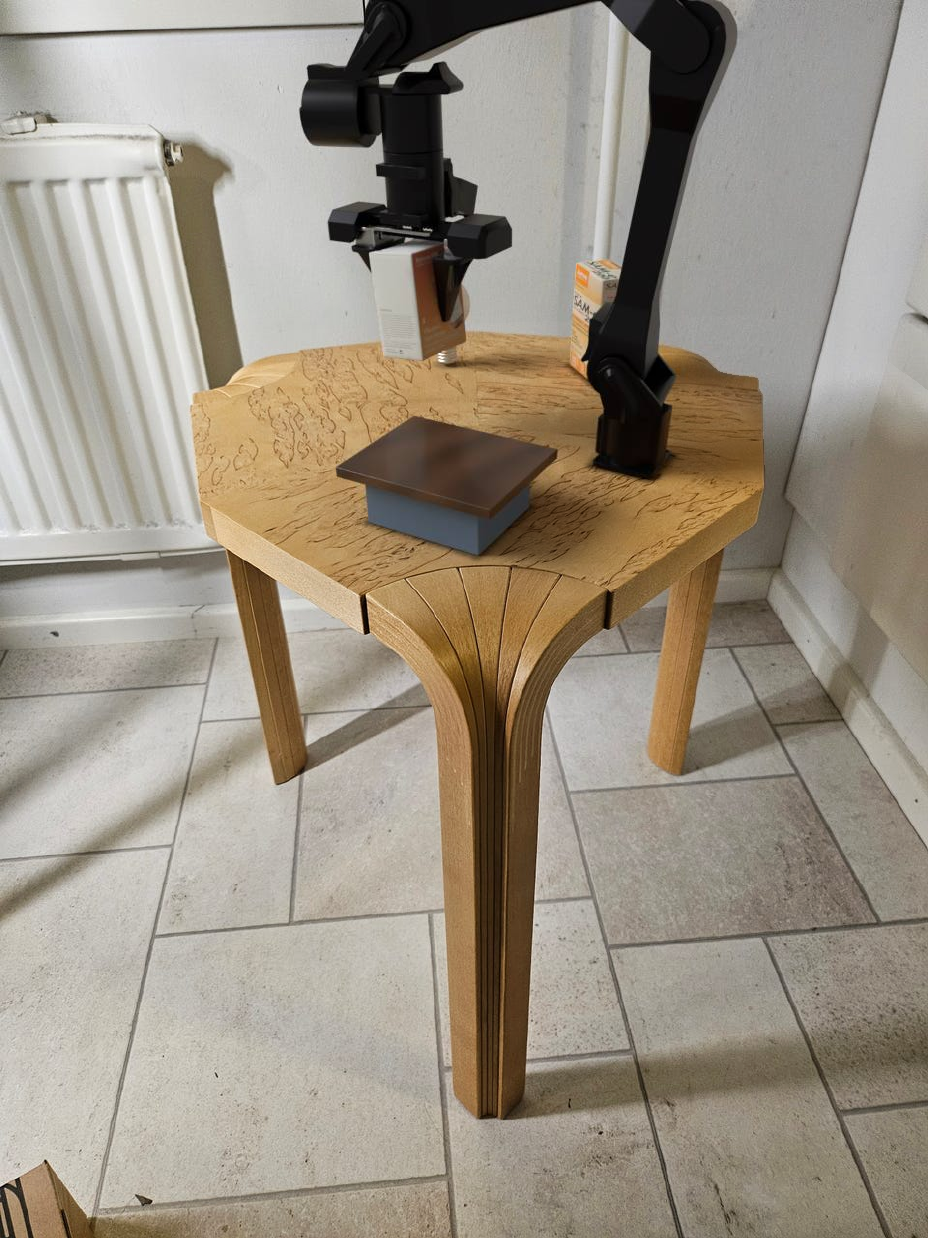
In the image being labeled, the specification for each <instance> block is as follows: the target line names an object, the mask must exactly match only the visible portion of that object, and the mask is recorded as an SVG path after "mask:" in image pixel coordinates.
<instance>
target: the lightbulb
mask: <svg viewBox="0 0 928 1238" xmlns="http://www.w3.org/2000/svg"><path fill="white" fill-rule="evenodd" d="M462 296H463V308H464V320H465V321H467V318H468V317H469V315H470V311H471V298H470V295H469V292H468V290H467V289H466V287H465V285H463V284H462ZM457 349H458V347H457V346H455V347H453V348H450V349H448V350H445V351H443V352H441V353H438V354H436V361H437V362H439V363H440V364H442V365H444V366H450V365H452V364H454V363H455V362H457V360H458V353H457V352H458V350H457Z"/></svg>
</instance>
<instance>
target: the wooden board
mask: <svg viewBox="0 0 928 1238" xmlns="http://www.w3.org/2000/svg"><path fill="white" fill-rule="evenodd" d="M558 451H559V450H558V449H557V448H555V447H550V446H546V445H541V444H536V443H533V442H528V441H524V440H520V439H515V438H512V437H507V436H502V435H499V434H495V433H490V432H486V431H482V430H478V429H473V428H470V427H469V428H468V427H464V426H462V425H461V426H460V425H456V424H452V423H447V422H444V421H438V420H434V419H431V418H426V417H421V416H418V415H412V416H411V417H410V418H408V419H406V420H405V421H403V422H402V423H400V424H399V425H397V426H396V427H394V428H393V429H391V430H389V431H387V433H385V434H383V435H382V436H381V437H379V438H378V439H376V440H374V441H373V442H371V443H370V444H369V445H367V446H365V447H364V448H362V449H360V450H359V451H358V452H355V454H353V455H352V456H350V457H349V458H347V459H346V460H344V461H343V462H341V463H340V464H338V465H337V466H335V472H336V473H335V474H336V477H337V478H340V479H344V480H347V481H350V482H354V483H358V484H362V485H364V486H365V485H368V486H372V487H375V488H379V489H382V490H386V491H389V492H393V493H397V494H400V495H404V496H407V497H411V498H414V499H418V500H421V501H425V502H428V503H432V504H436V505H439V506H443V507H446V508H450V509H453V510H457V511H460V512H464V513H468V514H471V515H475V516H478V517H482V518H485V519H489V520H490V519H491V518H493V517H494V516H495V515H496V514H497V513H498V512H499V511H500V510H501V509H502V508H503V507H505V506H506V505H507V504H508V503H509V502H510V501H511V500H512V499H513V498H514V497H515V496H517V495H518V494H519V493H520V492H521V491H522V490H523V489H524V488H525V487H526V486H527V485H529V484H530V485H531V483H532V482H533V481H534V480H535V479H537V478H538V477H539V476H540V475H541V474H542V473H543V472H544V471H545V470H546V469H547V468H548V467H550V466H551V465H552V464H553V463H554V462H555V461H556V460H557V459H558Z"/></svg>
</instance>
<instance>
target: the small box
mask: <svg viewBox="0 0 928 1238" xmlns="http://www.w3.org/2000/svg"><path fill="white" fill-rule="evenodd" d="M442 253H444V242H438V241H430V240H422V239H413V238H411V239H410V240H408V241H405V242H404V243H402V244H399V245H395V246H392V247H389V248H386V249H383V250H380V251H374V252H370V253H369V257H370V264H371V272H372V273H371V272H370V273H371V278H372V285H373V292H374V293H373V294H374V300H375V307H376V308H375V309H376V314H377V321H378V329H379V335H380V344H381V350H382V356H383V357H384V358H391V359H398V360H399V359H401V360H407V361H417V362H418V361H419V362H424V361H426V360H428V359H430V358H432V357H434V356H437V354H438V353H441V352H443V351H445V350H448V349H450V348H453V347H455V346H456V347H457V346H460V345H463V344H465V343H466V342H467V333H466V320H464V308H463V296H462V285H463V283H462V284H461V287H460V290H459V294H458V297H457V300H456V303H455V307H454V310H453V313H452V316H451V319H450V320H449V321H447V322H443V321H442V318H441V314H440V311H439V305H438V298H437V290H436V283H435V276H434V269H433V262H432V258H433V257H435V256H437V255H440V254H442Z"/></svg>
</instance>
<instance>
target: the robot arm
mask: <svg viewBox="0 0 928 1238" xmlns="http://www.w3.org/2000/svg"><path fill="white" fill-rule="evenodd" d="M596 3H602V4H603V5H604V6H605V7H606V8H607V9H608V10H609V11H610V12H611V13H612V14H613V15H614V16H615V17H616V19H618V21H619V22H620V23H621V24H622V26H623V27H624V28H625V29H626V30H627V31H628V32H629V33H630V35H632V37H634V38H635V39H636V41H638V42H639V43H640V44H642V45H643V47H645V48H646V49H647V50H649V51H650V53H649V54H650V57H649V70H648V71H649V73H648V91H647V92H648V111H649V112H648V113H649V135H648V140H647V144H646V149H645V155H644V159H643V164H642V169H641V174H640V178H639V181H638V182H639V183H638V188H637V192H636V197H635V202H634V205H633V206H634V207H633V211H632V216H631V220H630V226H629V230H628V236H627V239H626V244H625V248H624V254H623V259H622V263H621V273H620V277H619V282H618V287H617V292H616V296H615V299H614V301H613V304H609V303H607V302H605V303H604V304H603V305H602V306H601V308H600V309H599V310H598V311H597V312H596V313H595V315H594V316H593V317H592V318H591V319H590V322H589V330H588V346H587V349H586V352H585V354H584V355H583V357H582V358H581V361H582V362H585V361H588V363H587V367H586V375H587V379H586V380H587V382H588V383H589V384H590V386H591V388H593V390H594V391H595V392H596V393H598V394H599V397H600V401H601V404H602V408H603V409H602V413H601V414H599V416H598V417H597V425H596V437H595V450H594V451H595V453H596V454H597V455H596V456H595V457H594V458H593V459H592V465H593V466H594V467H597V468H602V469H606V470H609V471H614V472H617V473H618V472H619V473H623V474H627V475H631V476H636V477H640V478H643V479H651V478H653V476H655V474H656V473H657V472H658V471H659V470H660V469H661V467H663V465H664V464H665V463H666V462H667V461H668V459H669V458H670V457H671V455H672V450H670V449H668V440H669V434H670V427H671V418H672V412H673V404H669V403H665V401H666V399H667V397H668V396H669V393H670V391H671V389H672V388H673V385H674V383H675V382H676V380H677V377H678V376H677V374H676V372H675V371H674V370H673V369H672V367H671V366H670V365H669V364H668V363H667V362H666V360H665V359H664V358H663V356H662V355H661V354H660V353H659V348H660V347H659V346H660V345H659V344H660V330H661V315H660V313H661V312H660V294H661V290H662V285H663V282H664V277H665V273H666V269H667V265H668V262H669V256H670V254H671V253H670V252H671V248H672V244H673V241H674V235H675V232H676V228H677V224H678V220H679V215H680V210H681V208H682V205H683V204H682V203H683V199H684V196H685V191H686V187H687V183H688V178H689V175H690V171H691V166H692V162H693V158H694V154H695V149H696V146H697V142H698V138H699V134H700V132H701V129H702V127H703V125H704V123H705V121H706V119H707V116H708V114H709V112H710V110H711V108H712V106H713V103H714V101H715V99H716V97H717V95H718V92H719V91H720V88H721V86H722V83H723V80H724V78H725V75H726V74H727V71H728V69H729V65H730V64H731V61H732V59H733V56H734V53H735V51H736V47H737V45H738V44H737V43H738V34H739V33H738V25H737V22H736V19H735V17H734V15H733V13H732V12H731V9H730V8H728V6H726V5H725V4H724V3H723V2H722V1H720V0H368V1H367V4H366V6H365V8H364V9H365V10H364V15H363V29H362V31H361V33H360V36H359V37H358V39H357V42H356V44H355V46H354V48H353V50H352V52H351V55H350V57H349V59H348V61H347V63H346V65H334V64H333V63H332V64H331V63H326V62H321V63H320V62H318V63H312V64H308V65H307V66H306V73H307V74H306V75H307V81H306V82H305V84H304V86H303V90H302V92H301V100H300V107H299V110H298V112H299V119H300V125H301V128H302V132H303V134H304V137H305V138H306V140H307V141H308V142H309V144H311V145H312V146H314V147H328V148H329V147H333V148H362V149H363V148H365V149H369V148H371V147H372V146H373V145H374V144H375V142H376V140H377V138H378V137H379V136H380V135H381V143H382V145H381V146H382V158H383V162H379V163H376V164H375V175H376V177H379V178H384V185H385V198H386V204H385V203H379V202H378V203H377V202H367V201H359V200H358V201H355V202H352V203H349V204H346V205H343V206H339V207H335V208H333V209H332V210H331V212H330V214H329V216H328V219H327V221H326V222H327V231H328V239H329V241H331V242H339V243H347V244H351V243H354V242H355V244H353V245H351V248H350V249H351V251H352V252H353V253H357V254H358V255H359V257H360V258H361V260H362V261H363V263H364V265H365V267H367V269H368V270H369V272H370V274H372V272H371V264H370V257H369V253H370V252H374V251H380V250H383V249H386V248H389V247H392V246H395V245H399V244H402V243H405V242H406V239H422V240H430V241H438V242H444V253H442V254H440V255H437V256H435V257H433V258H432V262H433V269H434V276H435V283H436V290H437V298H438V305H439V311H440V314H441V318H442V321H443V322H447V321H449V320H450V319H451V316H452V313H453V310H454V307H455V303H456V300H457V297H458V294H459V290H460V287H461V284H462V285H463V281H464V278H465V276H466V274H467V271H468V269H469V266H471V264H472V263H473V261H474V260H486V259H489V258H492V257H493V256H496V255H497V254H499V253H502V252H504V251H506V250H508V249H511V248H512V247H513V228H512V226H511V223H510V222H509V220H508V218H507V217H506V216H505V215H496V214H495V215H494V214H486V213H477V212H476V213H475V210H476V202H477V195H478V188H479V187H478V186H479V185H478V184H475V183H473V182H471V181H469V180H467V179H464V178H461V177H458V176H455V175H454V165H453V162H452V158H451V157H444V134H443V133H444V129H443V107H442V105H443V104H442V96H445V95H447V96H448V95H451V94H455V93H458V92H461V91H463V90H464V88H465V87H464V86H465V84H464V82H463V81H462V80H461V79H460V78H459V77H458V76H457V75H455V73H453V71H452V70H451V69H450V67H449V65H448V64H447V61H445V60H443V61H438V62H437V61H436V62H434V63H433V64H432V65H431V68H430V69H429V70H428V71H405V70H406V68H408V67H409V66H410V65H411V64H414V63H420V62H424V61H428V60H431V59H433V58H435V57H437V56H439V55H442V54H443V53H446V52H448V51H450V50H452V49H453V48H455V47H457V46H459V45H462V44H463V43H465V42H466V41H467V40H470V39H471V38H472V37H475V36H477V35H478V34H481V33H482V32H485V31H489V30H492V29H495V28H500V27H505V26H508V25H512V24H515V23H520V22H525V21H529V20H532V19H536V18H540V17H544V16H548V15H552V14H556V13H560V12H564V11H569V10H572V9H576V8H581V7H584V6H588V5H592V4H596ZM393 74H394V75H395V74H398V75H397V77H396V78H395V80H394V83H380V77H384V76H389V75H393ZM458 216H460V217H463V218H460V219H457V220H455V221H450V220H449V221H447V219H448V218H451V219H453V218H456V217H458Z"/></svg>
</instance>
